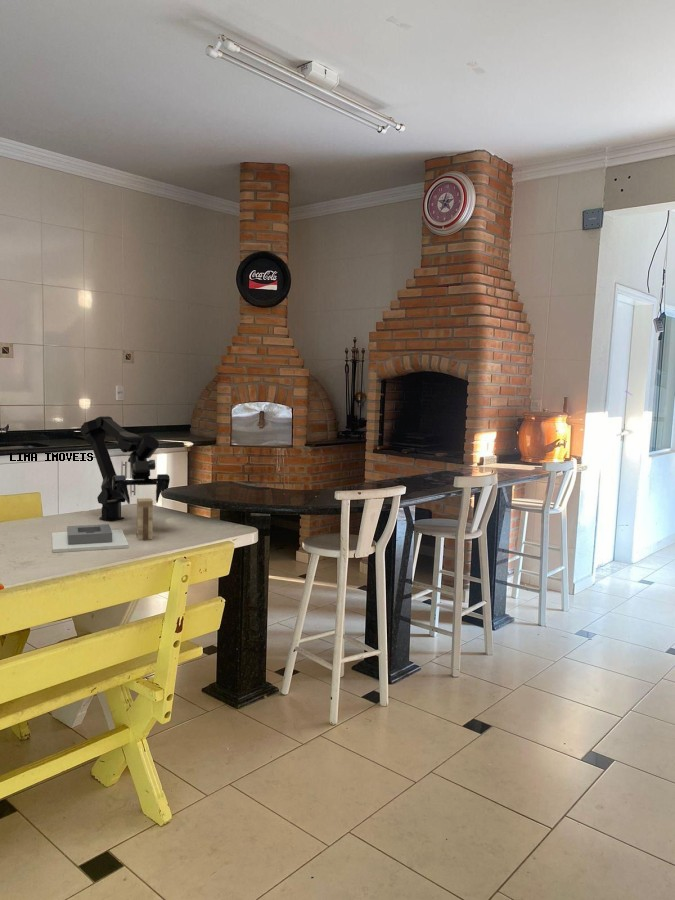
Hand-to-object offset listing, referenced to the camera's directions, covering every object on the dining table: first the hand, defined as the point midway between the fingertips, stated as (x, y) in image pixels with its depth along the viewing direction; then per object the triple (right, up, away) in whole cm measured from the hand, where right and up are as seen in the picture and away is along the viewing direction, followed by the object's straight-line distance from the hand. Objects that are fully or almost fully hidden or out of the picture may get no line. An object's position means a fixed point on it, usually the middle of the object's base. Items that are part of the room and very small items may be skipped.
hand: (143, 502), depth 230 cm
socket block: (-14, -12, -11) cm, 21 cm away
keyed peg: (+1, -12, -3) cm, 12 cm away
